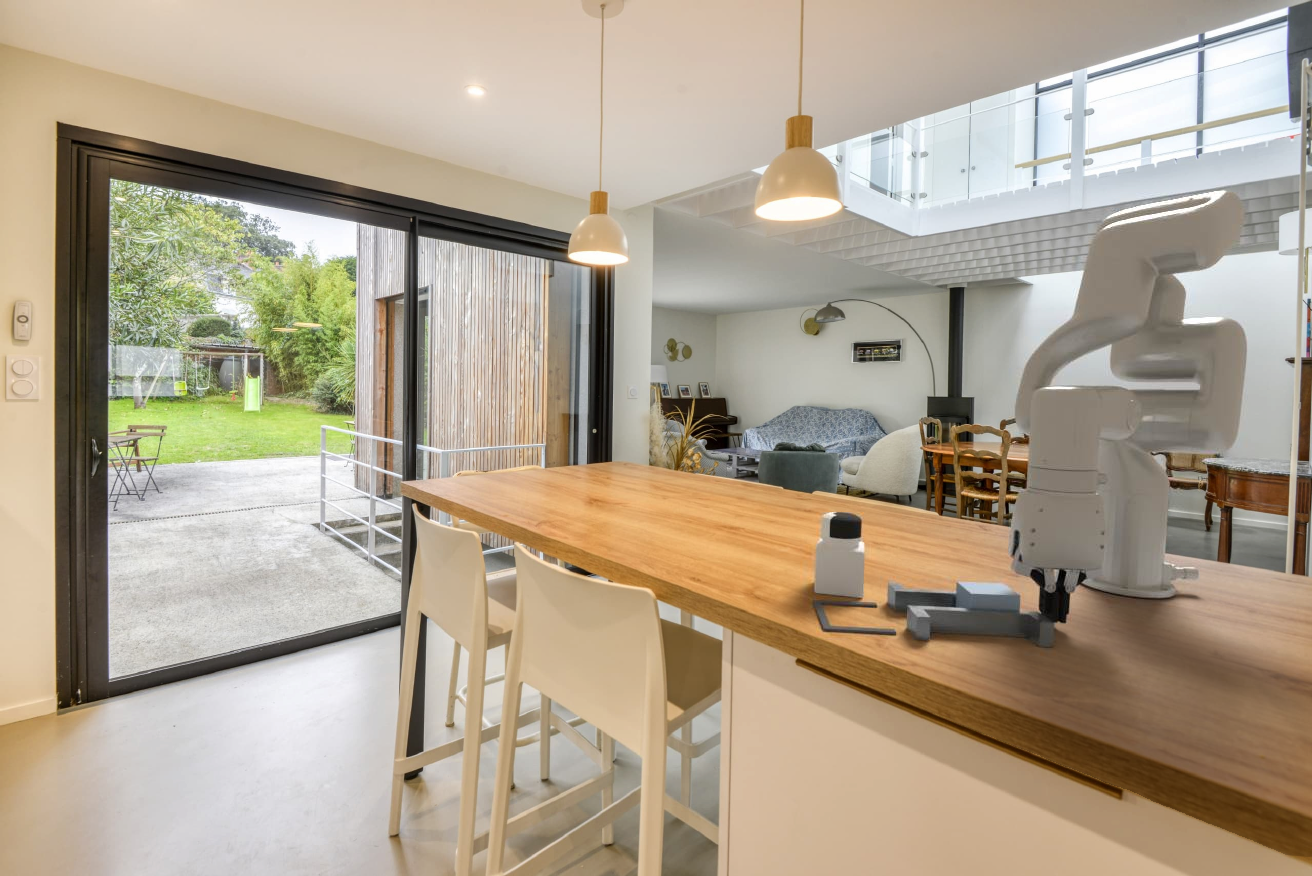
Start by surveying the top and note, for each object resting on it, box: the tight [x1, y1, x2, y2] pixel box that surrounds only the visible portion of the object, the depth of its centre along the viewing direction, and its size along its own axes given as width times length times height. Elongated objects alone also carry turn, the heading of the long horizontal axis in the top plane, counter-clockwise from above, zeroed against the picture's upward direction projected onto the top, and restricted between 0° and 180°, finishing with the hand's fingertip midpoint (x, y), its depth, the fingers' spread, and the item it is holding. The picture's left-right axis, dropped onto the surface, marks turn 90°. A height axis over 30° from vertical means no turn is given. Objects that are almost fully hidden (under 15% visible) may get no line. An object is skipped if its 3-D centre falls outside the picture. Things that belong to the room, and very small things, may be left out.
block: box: [955, 581, 1021, 611], centre depth 80 cm, size 6×5×5 cm
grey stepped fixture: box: [886, 581, 1055, 648], centre depth 81 cm, size 16×14×3 cm
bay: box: [812, 599, 897, 635], centre depth 82 cm, size 9×11×1 cm
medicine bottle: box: [814, 511, 866, 599], centre depth 94 cm, size 7×7×12 cm
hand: (1053, 618), depth 79 cm, fingers closed
